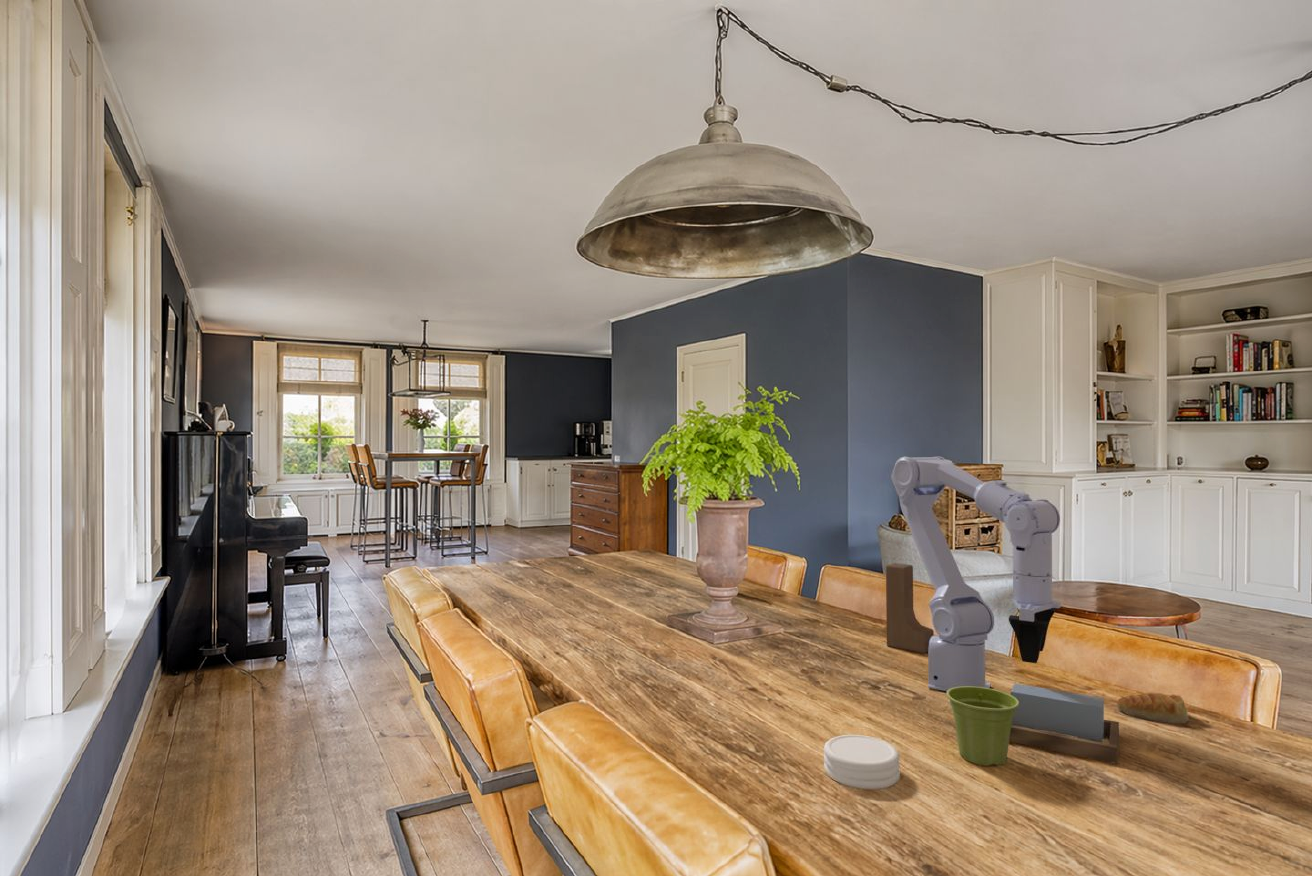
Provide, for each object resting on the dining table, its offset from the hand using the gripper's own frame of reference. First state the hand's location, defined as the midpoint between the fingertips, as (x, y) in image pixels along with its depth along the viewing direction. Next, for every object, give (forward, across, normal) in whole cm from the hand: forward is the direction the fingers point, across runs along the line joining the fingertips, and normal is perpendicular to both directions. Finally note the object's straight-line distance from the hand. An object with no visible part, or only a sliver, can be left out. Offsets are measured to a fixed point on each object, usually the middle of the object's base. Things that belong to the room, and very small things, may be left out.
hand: (1032, 656), depth 116 cm
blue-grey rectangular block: (+8, -8, -4) cm, 12 cm away
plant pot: (+10, -21, +4) cm, 24 cm away
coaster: (+10, -36, +17) cm, 41 cm away
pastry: (+10, +11, -17) cm, 22 cm away
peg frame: (+10, -8, -4) cm, 13 cm away
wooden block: (+10, +28, +27) cm, 41 cm away
